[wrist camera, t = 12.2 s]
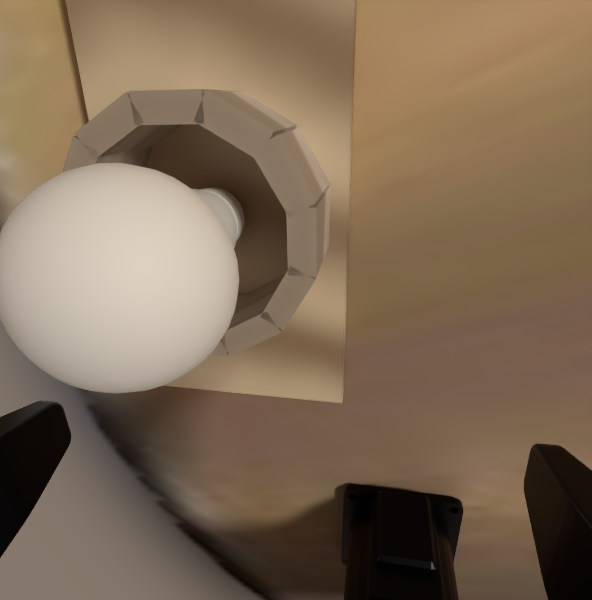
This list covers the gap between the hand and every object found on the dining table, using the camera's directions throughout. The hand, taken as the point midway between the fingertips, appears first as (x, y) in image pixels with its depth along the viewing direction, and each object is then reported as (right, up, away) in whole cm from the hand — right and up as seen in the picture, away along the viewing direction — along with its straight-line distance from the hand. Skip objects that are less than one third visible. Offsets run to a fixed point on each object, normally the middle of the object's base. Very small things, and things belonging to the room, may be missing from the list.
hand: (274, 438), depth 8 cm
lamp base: (-3, +7, +12) cm, 14 cm away
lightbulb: (-3, +7, +11) cm, 13 cm away
